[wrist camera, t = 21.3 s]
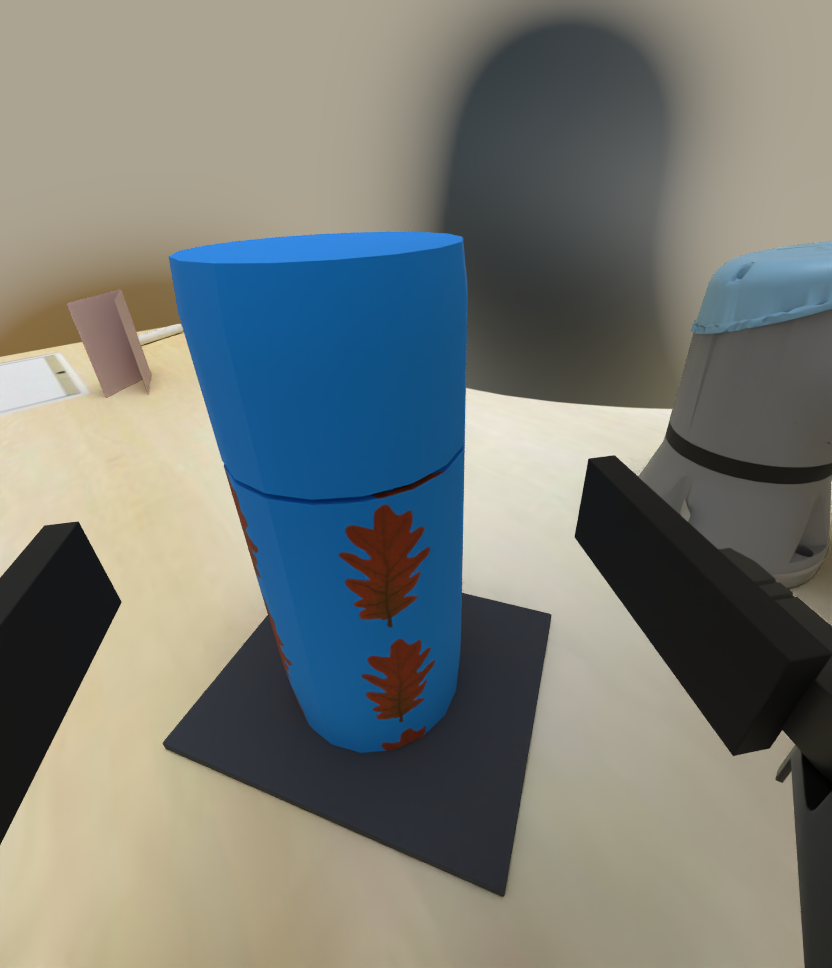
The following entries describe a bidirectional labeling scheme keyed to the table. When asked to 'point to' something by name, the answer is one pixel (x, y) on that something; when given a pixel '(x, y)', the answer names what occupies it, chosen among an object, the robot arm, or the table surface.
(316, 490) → the thermos
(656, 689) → the table surface
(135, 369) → the greeting card
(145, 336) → the marker
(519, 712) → the desk mat
